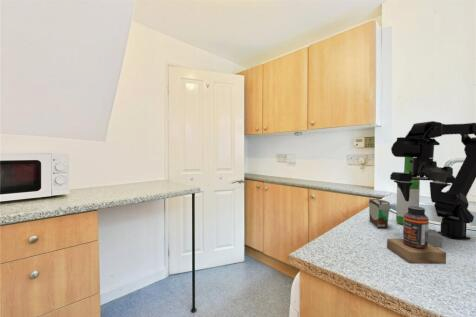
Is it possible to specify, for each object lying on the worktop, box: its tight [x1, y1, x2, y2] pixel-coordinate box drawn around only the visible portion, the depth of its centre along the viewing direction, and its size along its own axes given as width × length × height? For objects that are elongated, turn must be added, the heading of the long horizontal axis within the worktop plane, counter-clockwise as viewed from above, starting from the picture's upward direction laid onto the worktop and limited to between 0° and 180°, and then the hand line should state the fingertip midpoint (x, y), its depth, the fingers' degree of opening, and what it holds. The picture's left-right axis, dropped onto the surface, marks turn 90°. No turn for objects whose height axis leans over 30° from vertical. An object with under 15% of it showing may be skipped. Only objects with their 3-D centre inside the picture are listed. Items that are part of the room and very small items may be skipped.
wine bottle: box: [395, 157, 421, 226], centre depth 99 cm, size 8×8×30 cm
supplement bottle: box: [402, 206, 430, 248], centre depth 70 cm, size 6×6×11 cm
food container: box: [368, 198, 392, 230], centre depth 98 cm, size 12×6×10 cm, turn 168°
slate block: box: [428, 228, 443, 249], centre depth 80 cm, size 7×7×4 cm
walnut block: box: [386, 238, 447, 264], centre depth 70 cm, size 10×10×3 cm
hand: (420, 201), depth 83 cm, fingers open, 9 cm apart
